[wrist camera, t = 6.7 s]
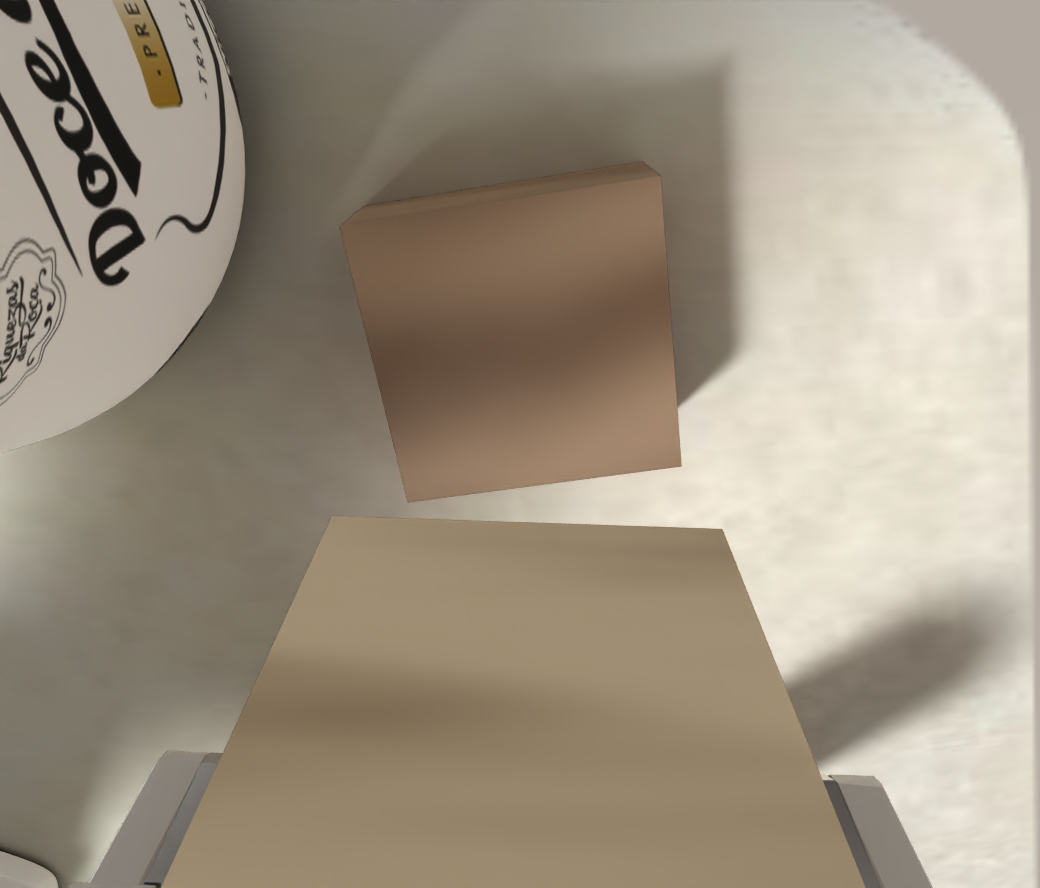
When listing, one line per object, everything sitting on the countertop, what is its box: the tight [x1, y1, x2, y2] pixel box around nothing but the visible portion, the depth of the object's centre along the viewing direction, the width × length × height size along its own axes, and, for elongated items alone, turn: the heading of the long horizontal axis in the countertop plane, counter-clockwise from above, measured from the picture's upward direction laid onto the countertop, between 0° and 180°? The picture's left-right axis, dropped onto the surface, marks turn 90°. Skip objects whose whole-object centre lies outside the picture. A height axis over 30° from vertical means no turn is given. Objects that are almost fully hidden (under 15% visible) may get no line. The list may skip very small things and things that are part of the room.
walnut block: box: [340, 162, 682, 502], centre depth 25 cm, size 9×9×4 cm
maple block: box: [161, 516, 866, 888], centre depth 8 cm, size 5×5×6 cm
